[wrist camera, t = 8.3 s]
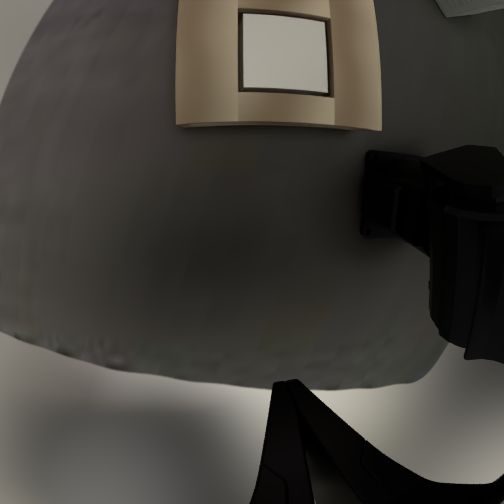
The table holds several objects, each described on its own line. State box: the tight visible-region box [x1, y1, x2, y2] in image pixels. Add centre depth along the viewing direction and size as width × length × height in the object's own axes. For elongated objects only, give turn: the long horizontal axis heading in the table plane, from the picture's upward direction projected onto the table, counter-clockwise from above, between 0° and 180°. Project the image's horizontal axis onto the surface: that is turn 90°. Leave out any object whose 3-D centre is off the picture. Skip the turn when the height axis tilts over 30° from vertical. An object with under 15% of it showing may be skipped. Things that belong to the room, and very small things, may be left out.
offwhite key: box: [239, 14, 328, 96], centre depth 13 cm, size 4×4×2 cm
